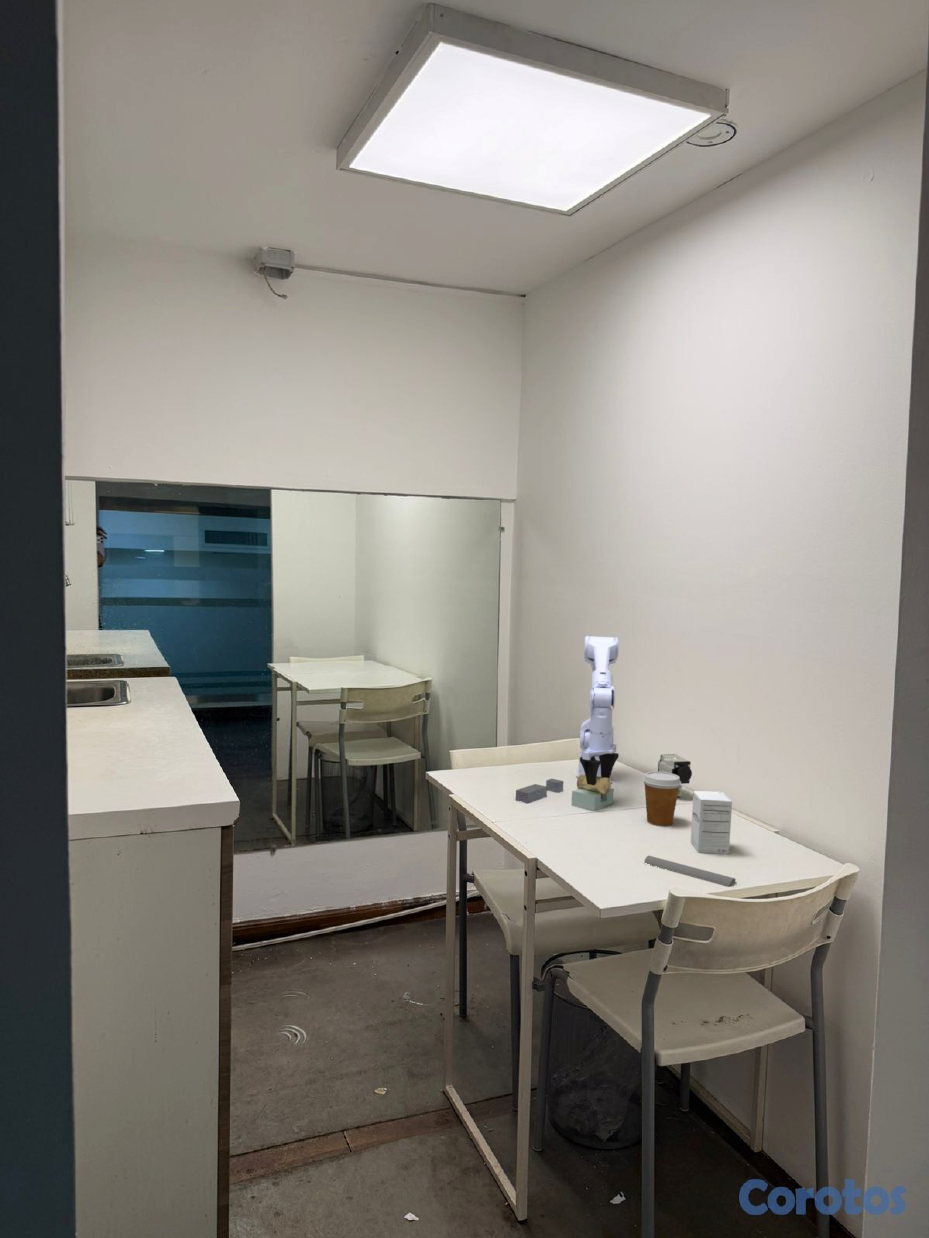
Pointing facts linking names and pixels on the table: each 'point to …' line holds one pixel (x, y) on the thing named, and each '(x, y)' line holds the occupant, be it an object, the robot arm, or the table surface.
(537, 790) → the grey rectangular blocks
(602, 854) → the table surface
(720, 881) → the half round rod
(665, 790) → the disposable coffee cup
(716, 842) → the supplement box
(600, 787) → the gold rounded piece
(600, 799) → the v block
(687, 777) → the pneumatic valve
